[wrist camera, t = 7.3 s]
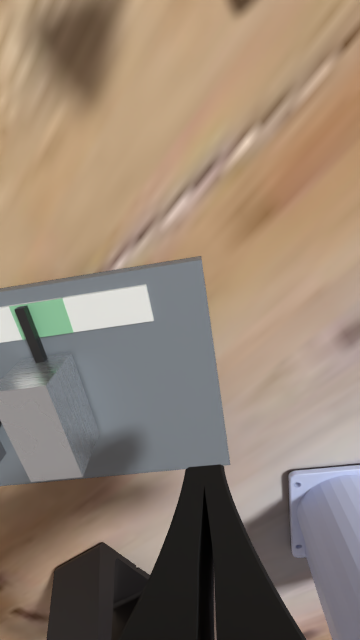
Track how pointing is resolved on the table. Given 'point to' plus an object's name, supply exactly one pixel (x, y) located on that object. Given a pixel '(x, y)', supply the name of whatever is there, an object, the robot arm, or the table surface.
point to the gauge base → (128, 364)
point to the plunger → (47, 411)
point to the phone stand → (94, 595)
